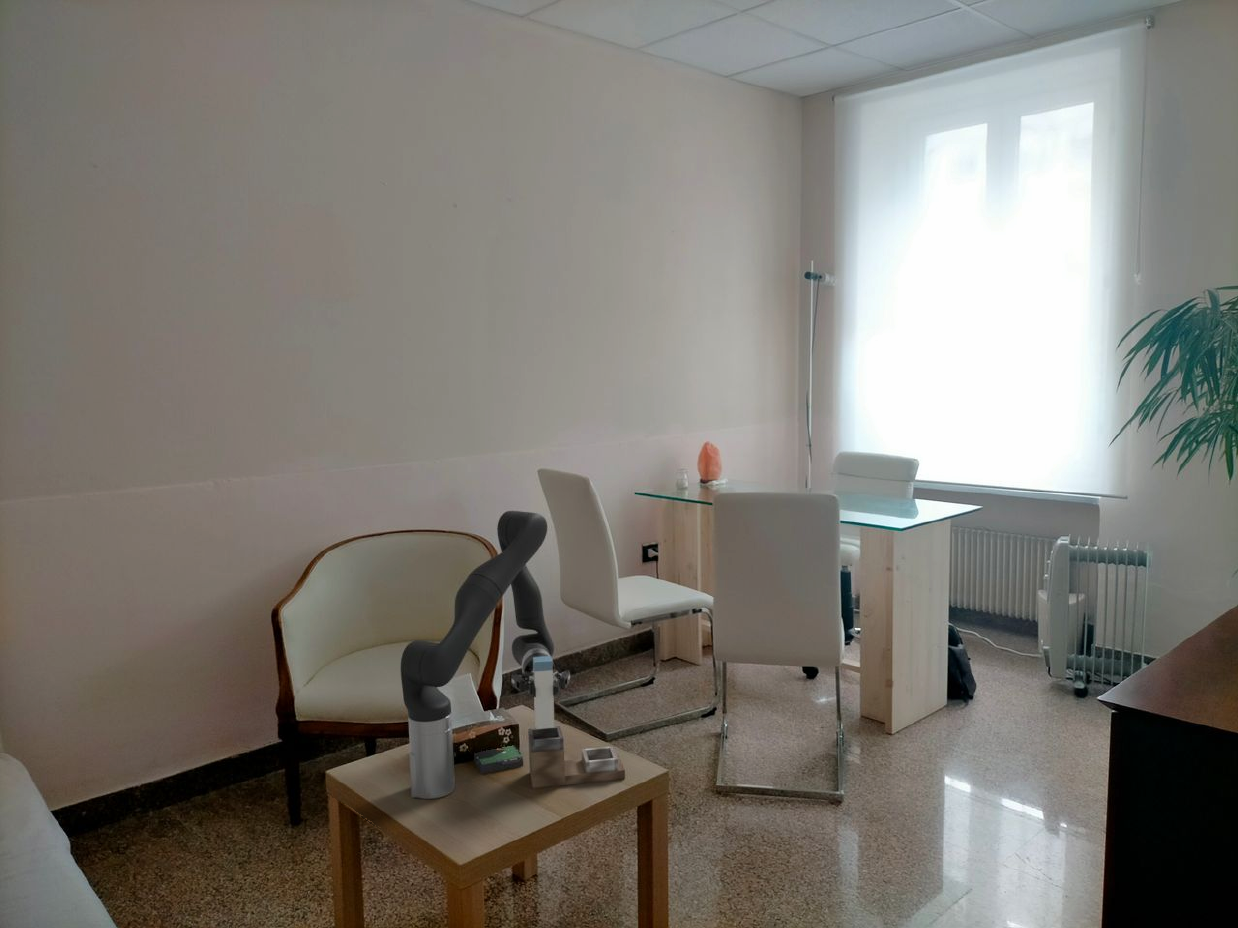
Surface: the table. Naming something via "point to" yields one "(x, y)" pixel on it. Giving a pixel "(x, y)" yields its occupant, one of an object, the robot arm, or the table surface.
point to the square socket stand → (568, 761)
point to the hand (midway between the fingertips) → (544, 691)
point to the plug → (543, 692)
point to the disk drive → (498, 759)
